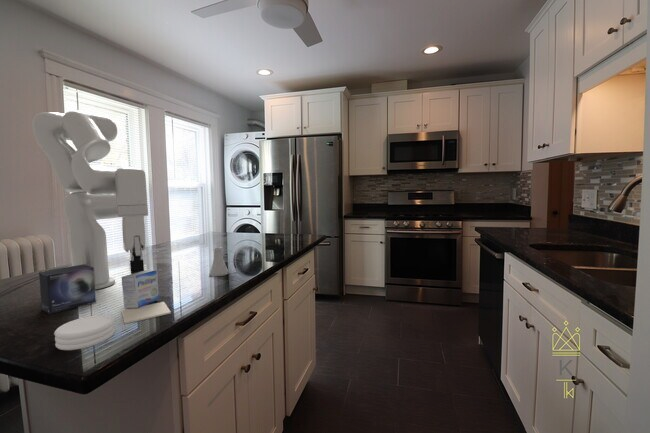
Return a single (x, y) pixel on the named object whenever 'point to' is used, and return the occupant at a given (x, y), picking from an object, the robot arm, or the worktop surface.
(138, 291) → the medicine box
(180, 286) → the worktop surface
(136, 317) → the mat
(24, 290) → the worktop surface
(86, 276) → the small box
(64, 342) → the coaster
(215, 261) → the flask
